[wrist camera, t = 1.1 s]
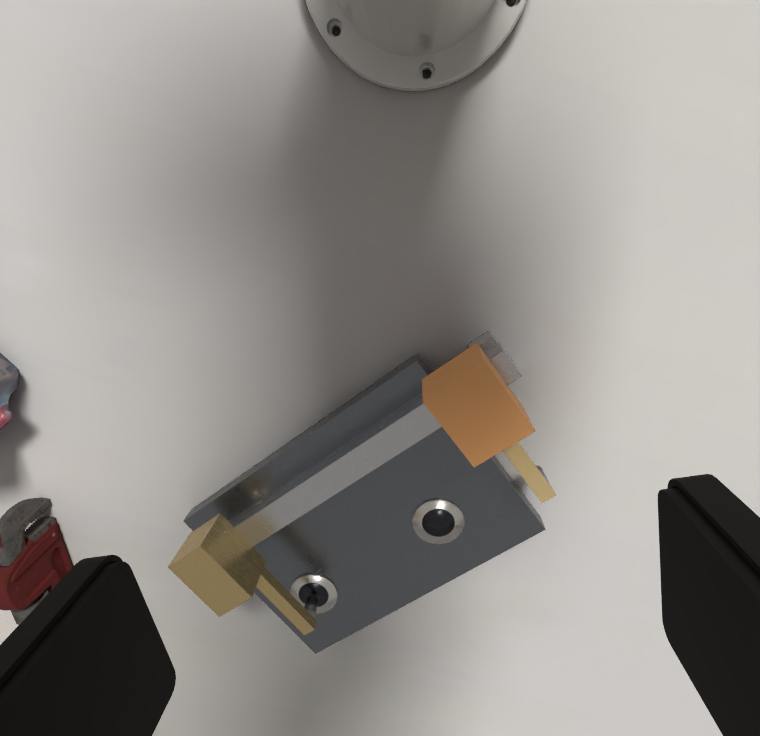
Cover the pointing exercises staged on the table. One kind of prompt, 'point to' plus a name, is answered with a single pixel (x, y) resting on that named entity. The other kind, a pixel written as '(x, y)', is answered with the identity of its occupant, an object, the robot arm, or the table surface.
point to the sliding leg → (482, 414)
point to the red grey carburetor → (7, 388)
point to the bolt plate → (356, 514)
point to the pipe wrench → (29, 557)
